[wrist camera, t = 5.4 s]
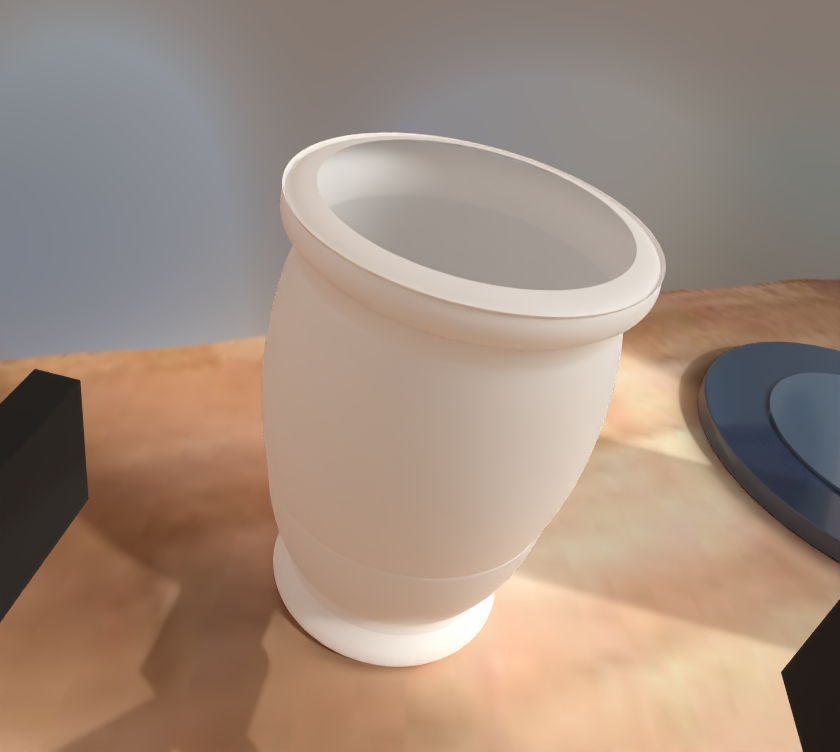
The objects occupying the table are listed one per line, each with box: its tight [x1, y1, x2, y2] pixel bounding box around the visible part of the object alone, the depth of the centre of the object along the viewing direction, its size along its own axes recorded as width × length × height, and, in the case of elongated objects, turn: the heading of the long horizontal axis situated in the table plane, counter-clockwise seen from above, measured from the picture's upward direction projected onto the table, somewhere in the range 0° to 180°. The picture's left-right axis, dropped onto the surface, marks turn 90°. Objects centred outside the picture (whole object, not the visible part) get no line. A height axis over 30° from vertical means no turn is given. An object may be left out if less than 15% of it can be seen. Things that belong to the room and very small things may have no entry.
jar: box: [262, 133, 666, 667], centre depth 25 cm, size 11×10×15 cm
